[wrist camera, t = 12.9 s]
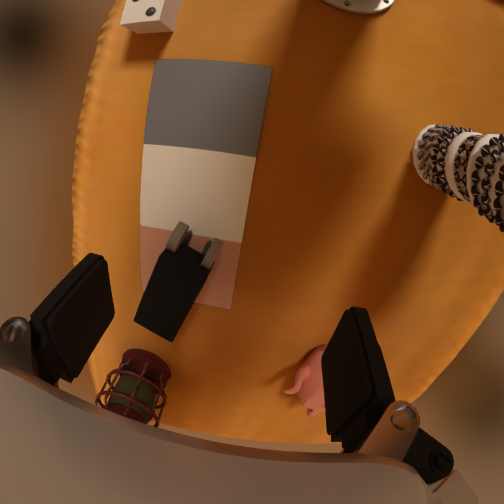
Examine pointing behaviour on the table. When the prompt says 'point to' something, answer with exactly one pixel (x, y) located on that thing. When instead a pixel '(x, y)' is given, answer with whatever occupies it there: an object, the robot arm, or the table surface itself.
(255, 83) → the game board
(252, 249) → the table surface
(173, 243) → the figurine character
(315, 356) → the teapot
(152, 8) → the die
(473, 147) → the decorative candle
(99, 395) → the lantern
